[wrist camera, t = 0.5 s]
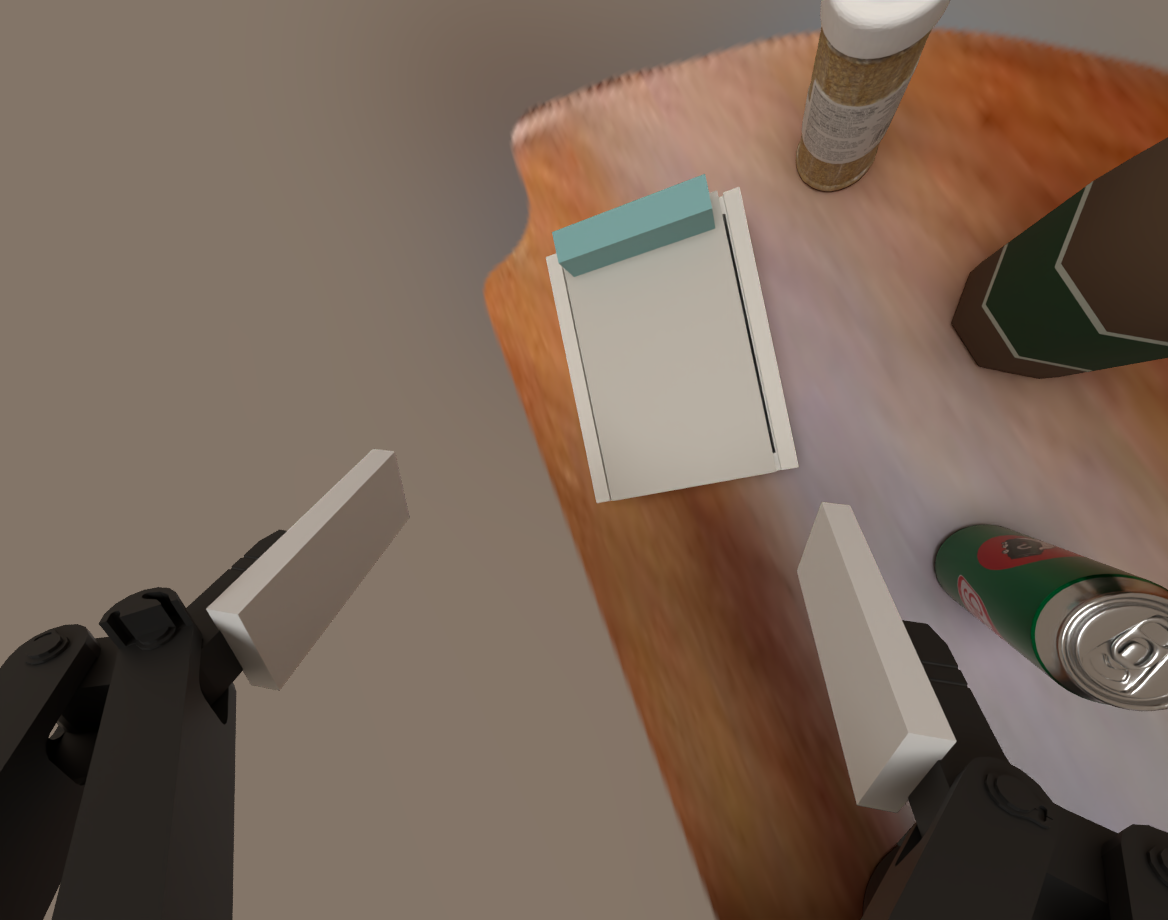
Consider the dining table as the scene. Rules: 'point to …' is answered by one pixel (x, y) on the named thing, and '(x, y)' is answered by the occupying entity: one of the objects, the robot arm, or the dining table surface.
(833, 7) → the sprinkles bottle
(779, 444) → the mailer box
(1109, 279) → the beer bottle
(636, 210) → the lid
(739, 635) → the dining table surface
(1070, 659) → the soda can
